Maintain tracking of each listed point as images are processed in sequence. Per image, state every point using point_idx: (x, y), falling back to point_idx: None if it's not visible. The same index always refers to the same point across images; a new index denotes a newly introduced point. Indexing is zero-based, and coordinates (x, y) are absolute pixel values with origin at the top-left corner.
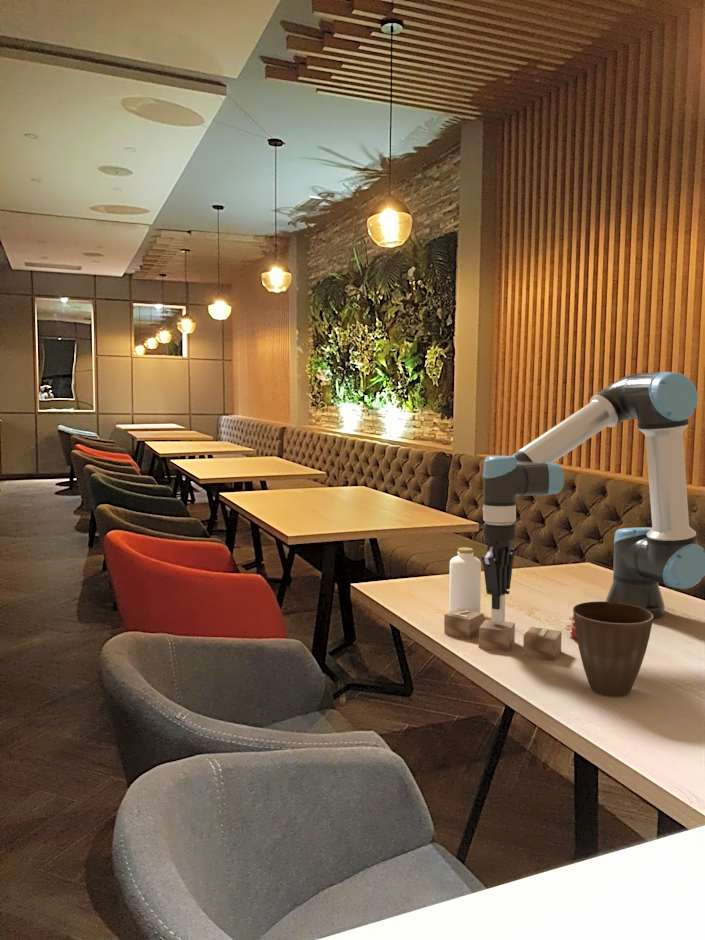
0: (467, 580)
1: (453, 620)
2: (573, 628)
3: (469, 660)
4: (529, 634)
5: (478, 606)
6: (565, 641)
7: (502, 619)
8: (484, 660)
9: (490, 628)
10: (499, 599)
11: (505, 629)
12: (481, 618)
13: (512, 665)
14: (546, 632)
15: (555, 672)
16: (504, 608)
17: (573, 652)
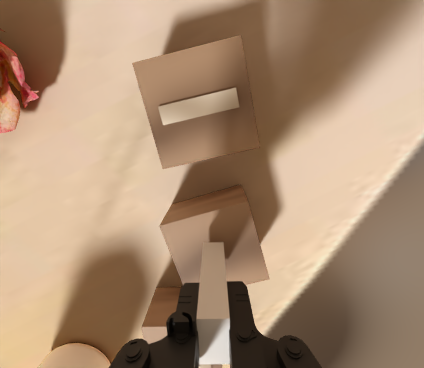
0: None
1: None
2: (22, 83)
3: (347, 223)
4: (240, 136)
5: (58, 364)
6: (71, 107)
7: (219, 248)
8: (329, 198)
9: (258, 252)
10: (230, 312)
11: (240, 216)
12: (156, 315)
13: (326, 132)
14: (183, 100)
15: (315, 15)
16: (204, 271)
17: (136, 47)
